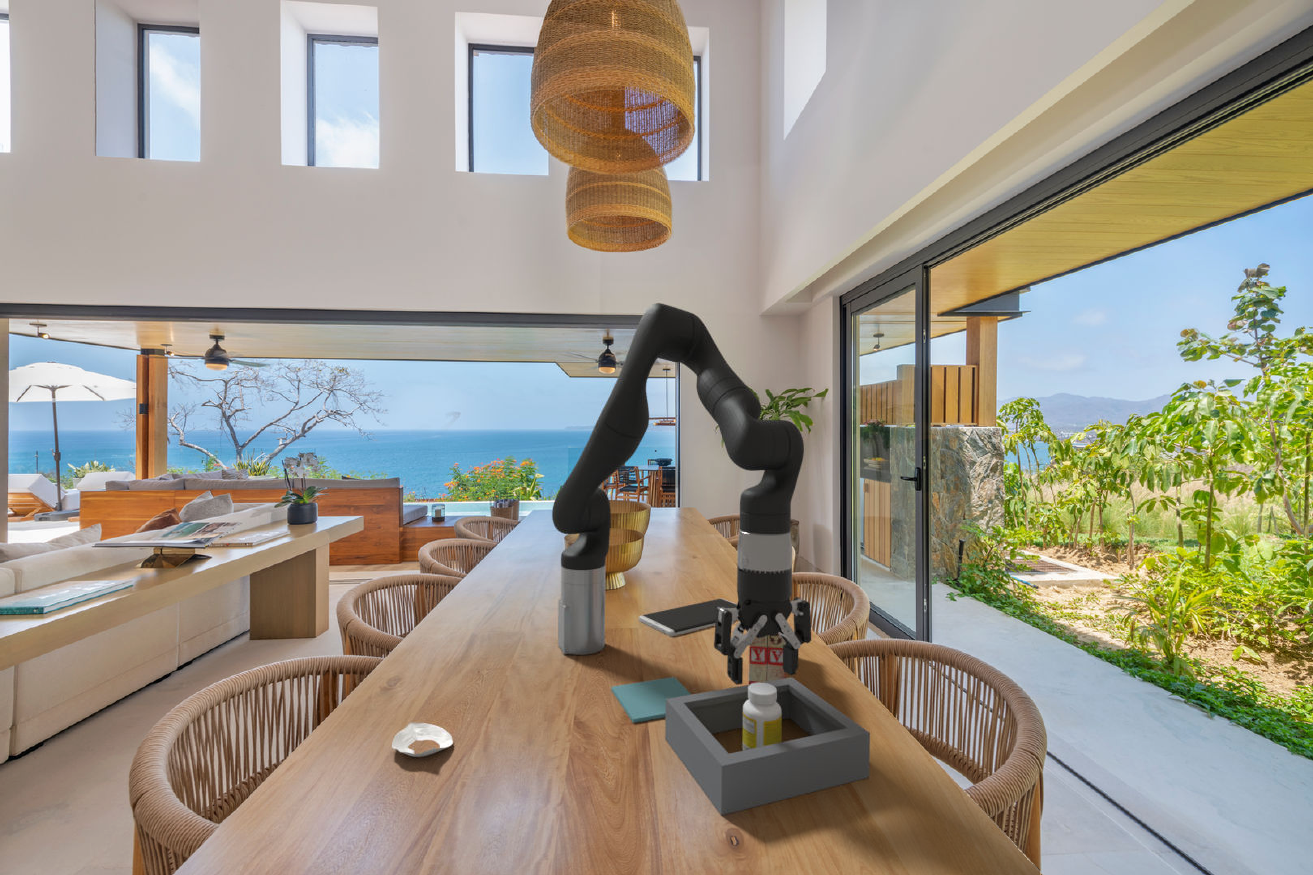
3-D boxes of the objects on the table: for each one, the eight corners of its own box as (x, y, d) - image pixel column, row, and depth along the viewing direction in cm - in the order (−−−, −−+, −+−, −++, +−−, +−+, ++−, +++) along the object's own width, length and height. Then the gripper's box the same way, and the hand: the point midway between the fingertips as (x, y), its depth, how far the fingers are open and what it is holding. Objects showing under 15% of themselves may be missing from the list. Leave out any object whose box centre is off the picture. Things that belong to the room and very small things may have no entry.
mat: (633, 722, 91) (633, 719, 91) (611, 690, 102) (611, 686, 102) (702, 710, 95) (702, 706, 95) (674, 679, 106) (674, 676, 106)
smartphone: (758, 617, 144) (758, 610, 144) (671, 639, 128) (671, 631, 128) (721, 603, 155) (721, 597, 155) (637, 622, 139) (637, 615, 139)
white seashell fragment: (402, 775, 76) (403, 755, 77) (382, 741, 86) (383, 723, 86) (462, 758, 81) (463, 740, 81) (436, 728, 91) (437, 711, 91)
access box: (721, 815, 70) (721, 765, 69) (665, 738, 86) (665, 698, 86) (869, 777, 77) (869, 732, 77) (791, 713, 94) (792, 677, 94)
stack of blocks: (749, 650, 121) (749, 591, 121) (779, 652, 120) (780, 593, 120) (748, 698, 100) (749, 627, 100) (785, 701, 99) (786, 629, 99)
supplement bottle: (783, 750, 84) (784, 683, 83) (778, 772, 78) (779, 700, 78) (745, 743, 85) (746, 677, 85) (738, 764, 80) (739, 693, 80)
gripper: (792, 553, 87) (790, 660, 88) (706, 560, 82) (705, 674, 83) (823, 564, 80) (822, 681, 81) (732, 573, 75) (730, 697, 76)
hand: (763, 677), depth 82 cm, fingers open, 8 cm apart
